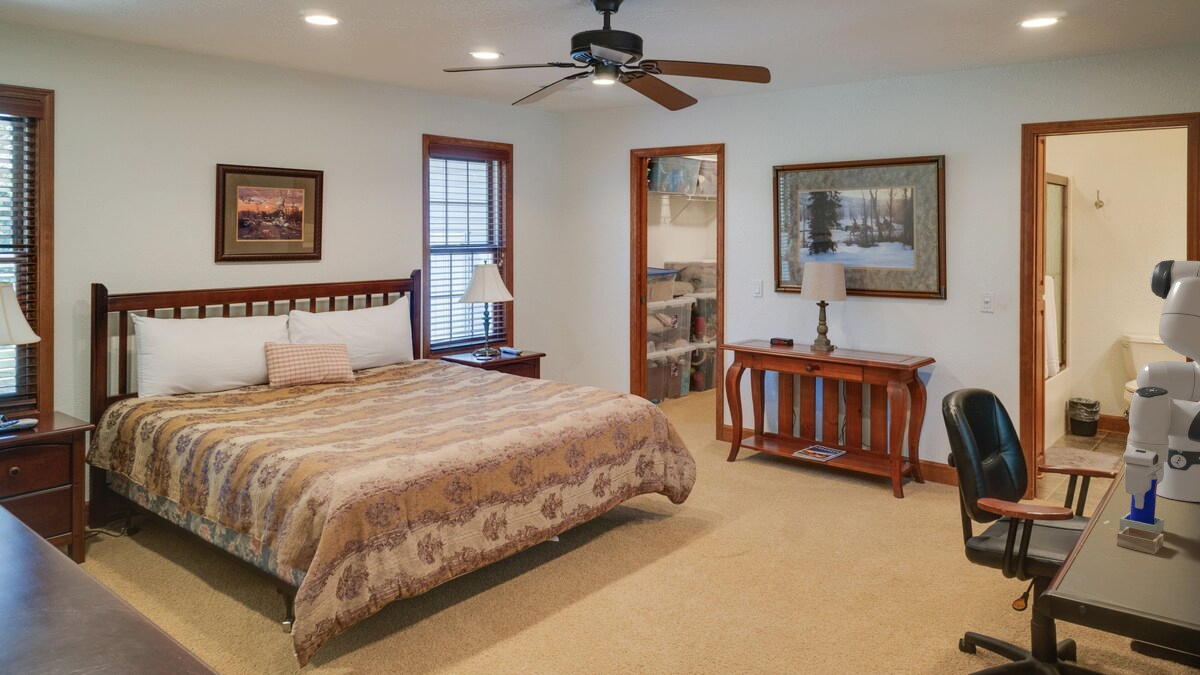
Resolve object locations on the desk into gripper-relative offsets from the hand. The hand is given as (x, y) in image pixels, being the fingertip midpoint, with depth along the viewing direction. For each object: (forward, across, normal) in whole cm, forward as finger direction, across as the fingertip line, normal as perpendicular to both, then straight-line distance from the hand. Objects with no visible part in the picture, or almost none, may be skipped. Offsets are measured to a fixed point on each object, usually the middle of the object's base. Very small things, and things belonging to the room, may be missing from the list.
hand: (1143, 505), depth 214 cm
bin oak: (+7, +13, +3) cm, 15 cm away
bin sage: (+7, 0, 0) cm, 7 cm away
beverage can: (+7, 0, 0) cm, 7 cm away
